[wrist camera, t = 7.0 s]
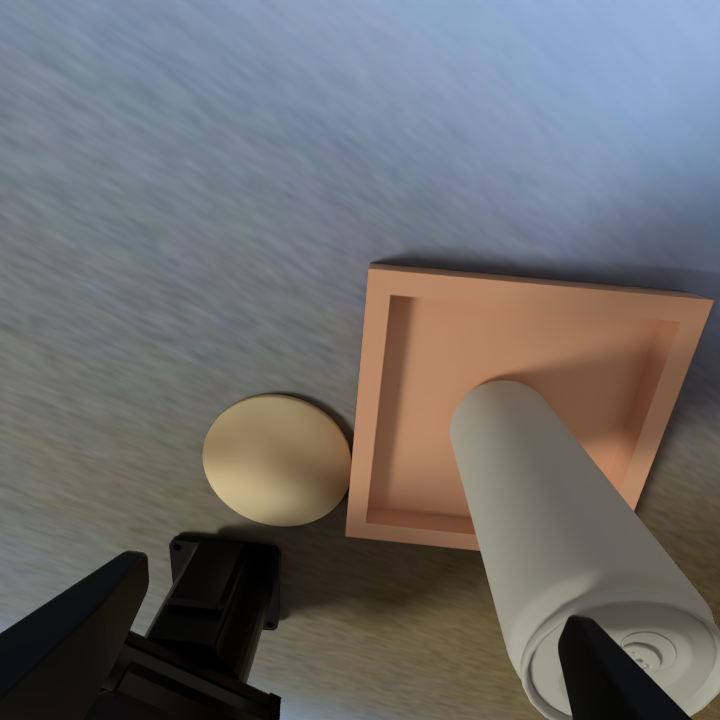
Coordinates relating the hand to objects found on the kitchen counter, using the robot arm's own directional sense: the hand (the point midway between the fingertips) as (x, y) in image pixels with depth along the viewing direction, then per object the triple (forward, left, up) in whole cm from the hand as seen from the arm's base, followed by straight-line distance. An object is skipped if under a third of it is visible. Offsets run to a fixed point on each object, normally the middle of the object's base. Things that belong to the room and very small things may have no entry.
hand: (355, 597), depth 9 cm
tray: (-2, -6, -13) cm, 15 cm away
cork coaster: (-6, +5, -13) cm, 15 cm away
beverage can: (-2, -6, -13) cm, 14 cm away
